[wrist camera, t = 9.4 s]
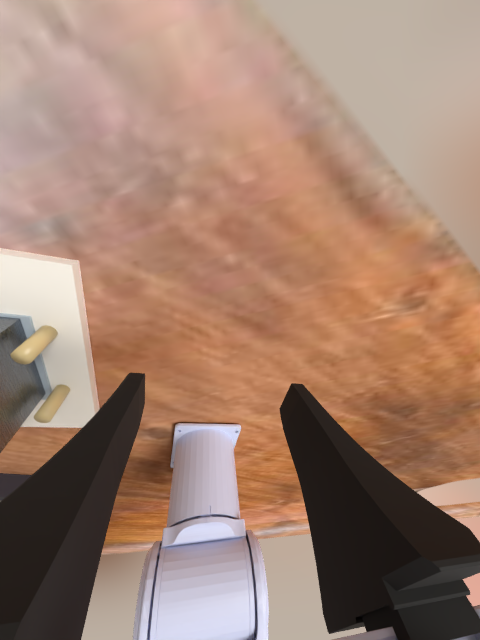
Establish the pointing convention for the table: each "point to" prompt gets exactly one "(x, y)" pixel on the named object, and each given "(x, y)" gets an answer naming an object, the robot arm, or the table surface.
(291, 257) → the table surface
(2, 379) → the block
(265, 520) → the table surface
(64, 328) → the cream pegged board
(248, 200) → the table surface
